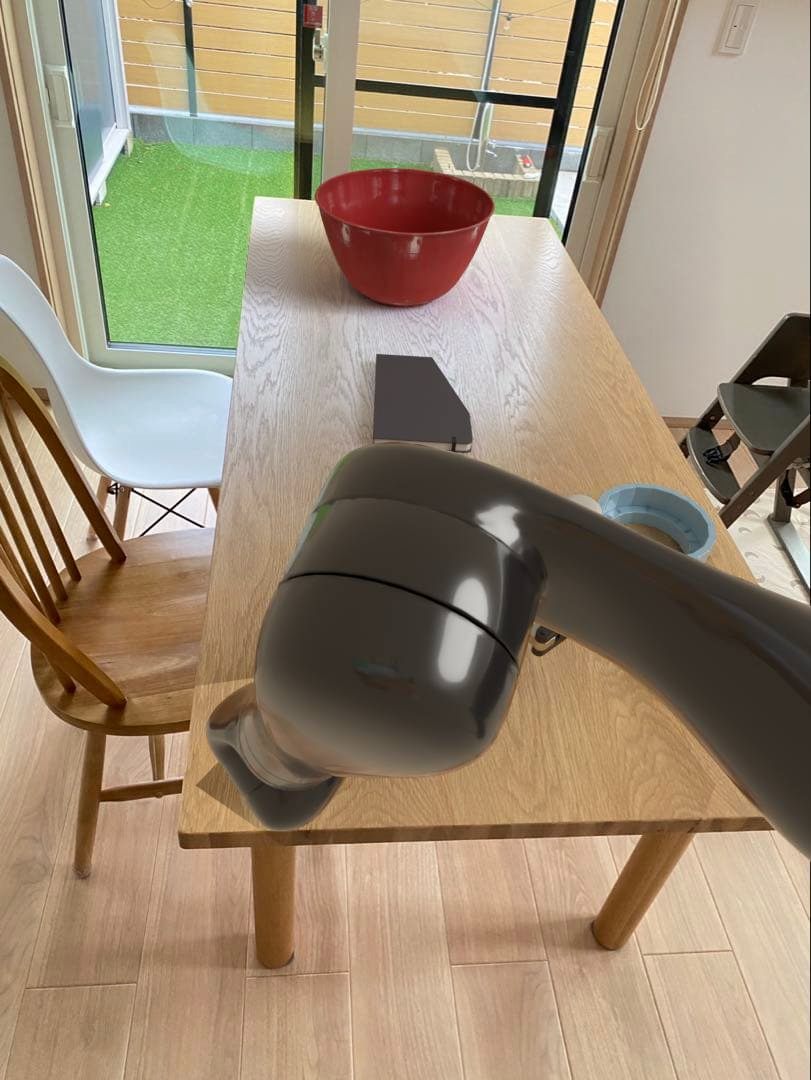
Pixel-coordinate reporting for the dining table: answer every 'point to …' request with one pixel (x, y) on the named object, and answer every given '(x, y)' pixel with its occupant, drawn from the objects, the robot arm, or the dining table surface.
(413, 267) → the mixing bowl
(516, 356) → the dining table surface
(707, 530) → the light-blue faceted ring
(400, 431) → the notebook
